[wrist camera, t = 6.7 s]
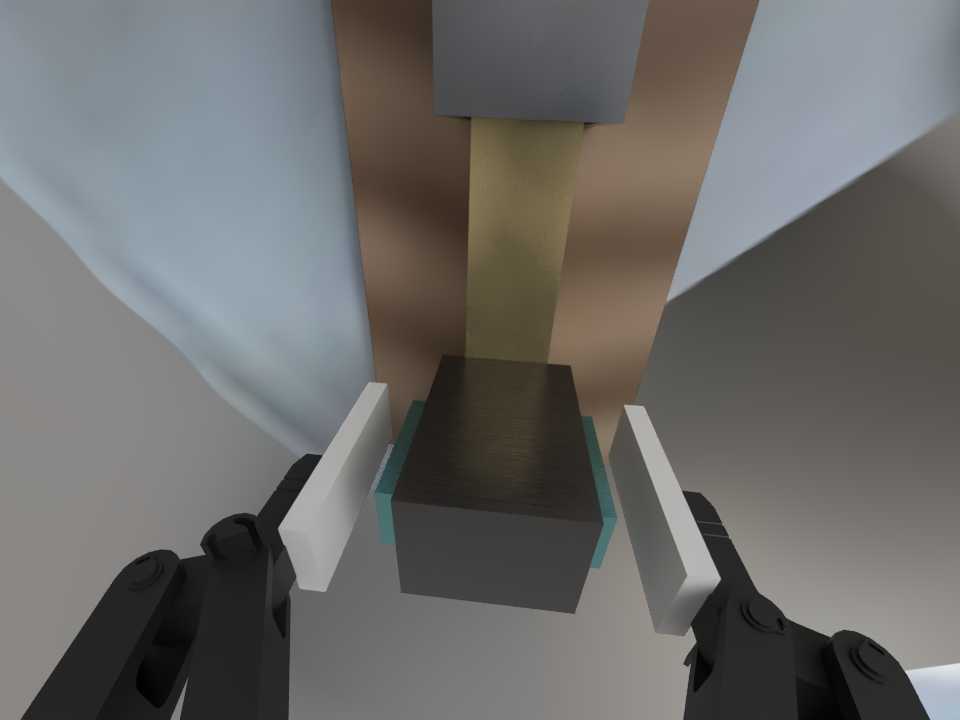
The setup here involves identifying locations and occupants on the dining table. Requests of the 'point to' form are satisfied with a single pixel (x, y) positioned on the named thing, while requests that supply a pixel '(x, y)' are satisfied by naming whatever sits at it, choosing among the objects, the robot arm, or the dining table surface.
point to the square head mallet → (505, 399)
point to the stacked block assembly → (529, 118)
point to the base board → (594, 212)
